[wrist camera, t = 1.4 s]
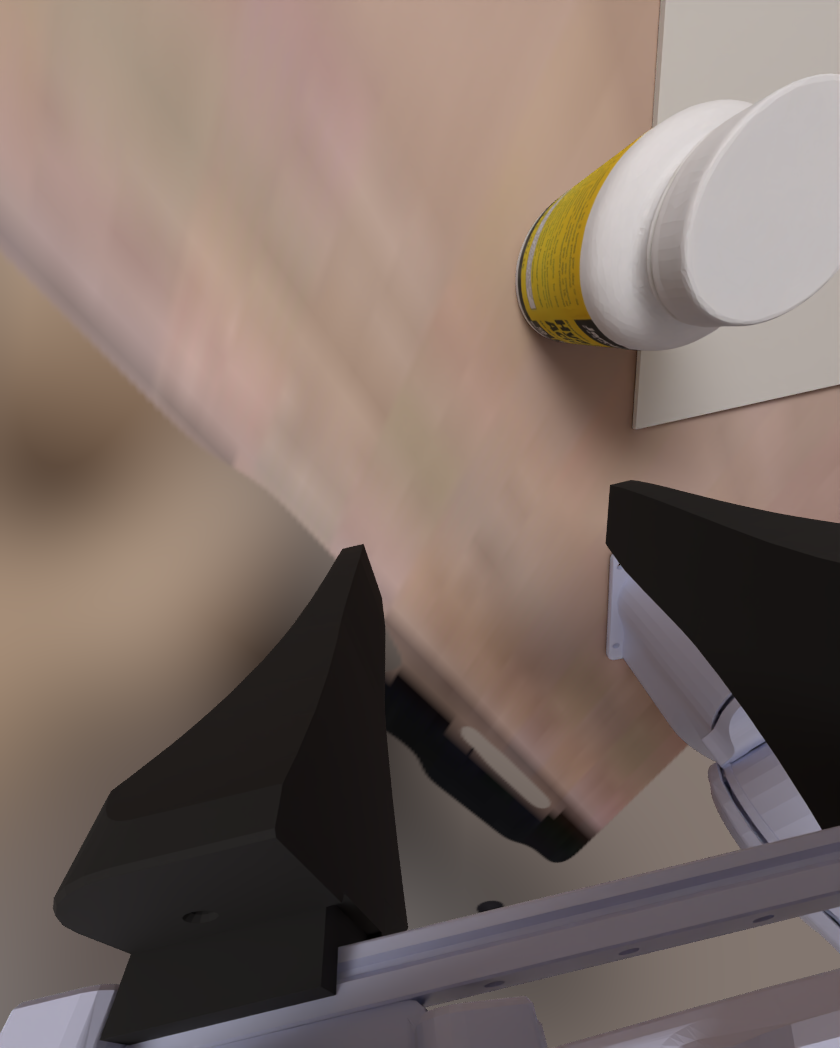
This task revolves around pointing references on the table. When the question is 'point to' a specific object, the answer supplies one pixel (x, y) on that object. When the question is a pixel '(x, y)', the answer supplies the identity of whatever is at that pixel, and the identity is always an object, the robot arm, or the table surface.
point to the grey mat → (750, 75)
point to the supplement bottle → (693, 226)
